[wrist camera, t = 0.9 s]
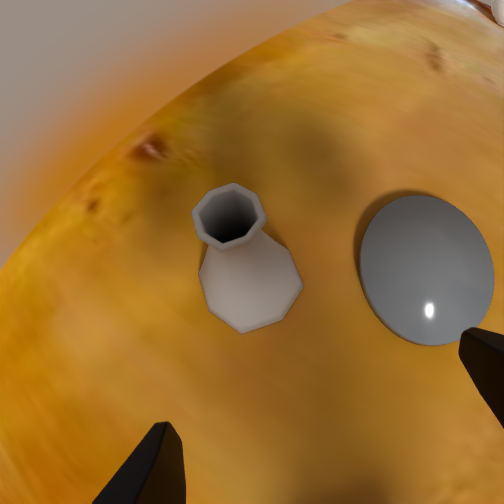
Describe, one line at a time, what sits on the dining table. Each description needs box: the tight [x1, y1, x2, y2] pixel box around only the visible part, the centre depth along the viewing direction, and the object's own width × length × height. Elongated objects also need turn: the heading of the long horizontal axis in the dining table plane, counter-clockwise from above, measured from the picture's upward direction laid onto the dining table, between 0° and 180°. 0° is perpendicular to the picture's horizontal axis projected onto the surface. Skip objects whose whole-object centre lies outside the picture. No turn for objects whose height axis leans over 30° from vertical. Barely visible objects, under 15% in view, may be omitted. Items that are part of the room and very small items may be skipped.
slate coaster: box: [358, 195, 494, 346], centre depth 21 cm, size 12×12×1 cm
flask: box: [191, 182, 304, 334], centre depth 18 cm, size 7×7×10 cm
